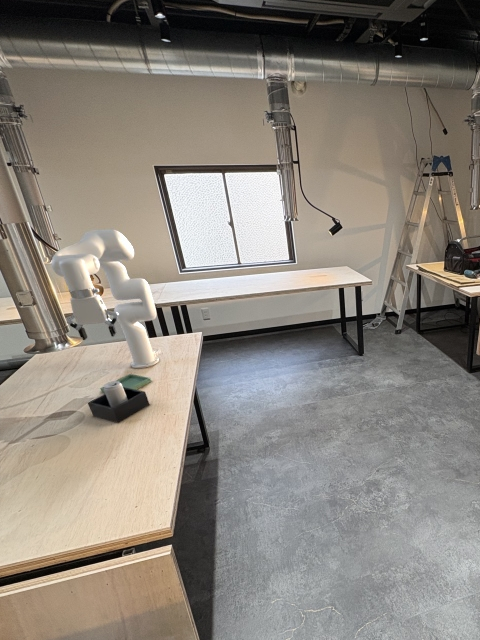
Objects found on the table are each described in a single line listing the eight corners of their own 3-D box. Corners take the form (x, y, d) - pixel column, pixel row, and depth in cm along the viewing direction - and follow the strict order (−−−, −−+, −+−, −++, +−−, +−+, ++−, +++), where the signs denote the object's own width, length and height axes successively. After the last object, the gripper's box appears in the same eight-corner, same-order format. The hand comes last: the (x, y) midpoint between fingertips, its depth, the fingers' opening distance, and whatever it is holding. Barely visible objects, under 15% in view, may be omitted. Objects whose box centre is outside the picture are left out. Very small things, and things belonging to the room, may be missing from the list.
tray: (131, 377, 196) (129, 373, 196) (151, 381, 192) (150, 377, 191) (101, 392, 184) (100, 388, 183) (122, 396, 180) (120, 392, 179)
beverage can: (122, 414, 166) (112, 388, 160) (109, 413, 167) (98, 387, 161) (134, 406, 171) (124, 380, 165) (120, 405, 172) (111, 379, 167)
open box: (125, 399, 178) (120, 386, 175) (149, 404, 173) (145, 391, 170) (93, 416, 166) (87, 402, 163) (118, 423, 161) (113, 409, 158)
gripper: (112, 288, 155) (126, 330, 163) (59, 293, 151) (77, 337, 159) (106, 293, 149) (122, 337, 157) (51, 298, 145) (70, 343, 153)
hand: (99, 337), depth 158 cm, fingers open, 9 cm apart
